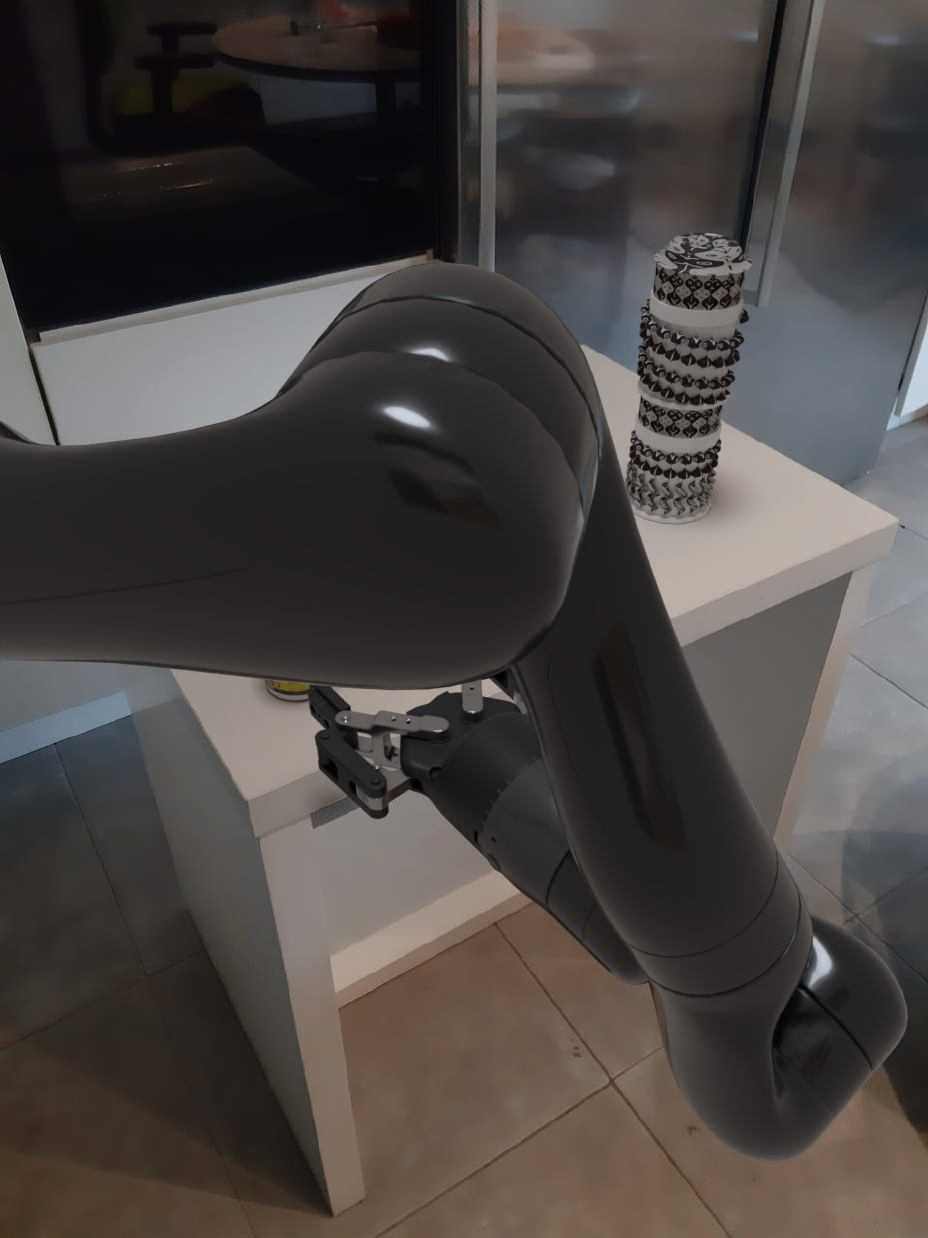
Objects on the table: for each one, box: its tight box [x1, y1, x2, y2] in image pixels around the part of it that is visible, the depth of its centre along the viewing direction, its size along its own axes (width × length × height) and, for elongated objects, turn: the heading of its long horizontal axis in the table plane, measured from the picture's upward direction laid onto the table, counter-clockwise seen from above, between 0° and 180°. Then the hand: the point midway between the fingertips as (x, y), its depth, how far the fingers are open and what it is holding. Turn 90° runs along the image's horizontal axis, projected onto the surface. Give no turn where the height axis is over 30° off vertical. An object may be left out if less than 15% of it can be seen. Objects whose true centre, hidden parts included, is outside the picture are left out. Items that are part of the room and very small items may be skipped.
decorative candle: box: [625, 232, 753, 525], centre depth 89 cm, size 9×9×25 cm
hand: (371, 663), depth 64 cm, fingers open, 8 cm apart
